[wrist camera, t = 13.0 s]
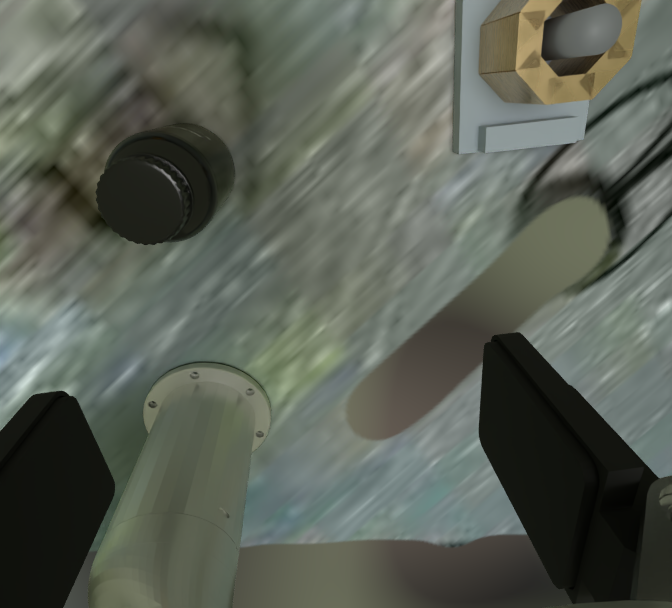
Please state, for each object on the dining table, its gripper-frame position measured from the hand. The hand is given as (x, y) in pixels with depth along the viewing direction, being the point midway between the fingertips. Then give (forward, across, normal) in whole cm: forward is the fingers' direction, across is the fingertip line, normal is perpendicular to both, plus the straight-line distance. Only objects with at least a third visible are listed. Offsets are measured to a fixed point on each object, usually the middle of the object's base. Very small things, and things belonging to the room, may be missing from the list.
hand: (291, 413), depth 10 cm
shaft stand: (+28, -18, -8) cm, 34 cm away
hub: (+27, -18, -8) cm, 33 cm away
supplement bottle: (+28, +8, -2) cm, 30 cm away
